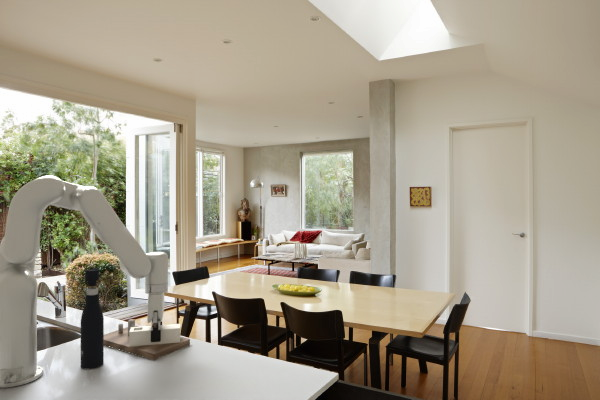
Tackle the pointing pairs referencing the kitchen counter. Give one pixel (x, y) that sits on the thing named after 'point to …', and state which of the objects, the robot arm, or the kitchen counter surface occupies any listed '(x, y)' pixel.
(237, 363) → the kitchen counter surface
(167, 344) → the board
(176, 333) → the flange bar
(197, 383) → the kitchen counter surface
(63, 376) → the kitchen counter surface
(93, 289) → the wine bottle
